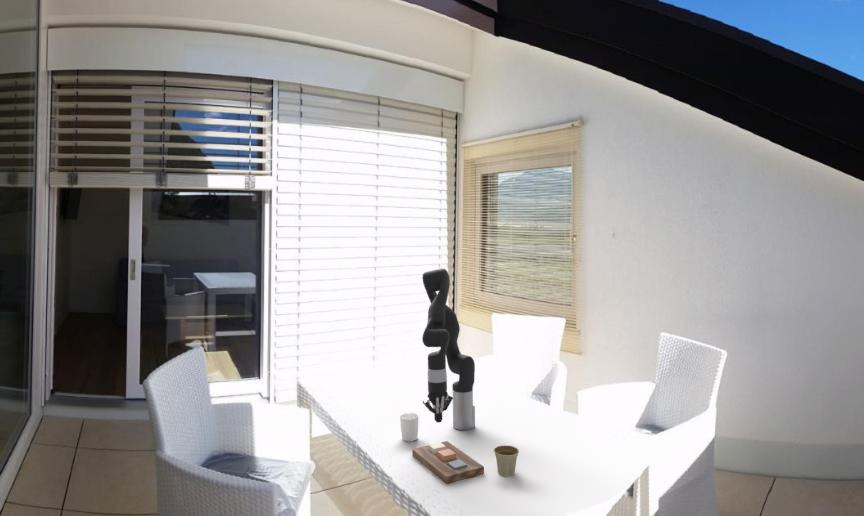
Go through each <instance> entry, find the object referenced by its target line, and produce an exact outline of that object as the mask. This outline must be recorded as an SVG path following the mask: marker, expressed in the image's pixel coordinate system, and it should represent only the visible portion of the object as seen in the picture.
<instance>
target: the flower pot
mask: <svg viewBox="0 0 864 516" xmlns="http://www.w3.org/2000/svg"><path fill="white" fill-rule="evenodd" d="M493 453H494V456H495V459H496V467H497V473H498V474H499V475H500V476H504V477H510V476H514V475H515V474H516V466H517V460H518V459H517V458H518V455H519V453H520V450H519V448H517V447H515V446H513V445H509V444H508V445H507V444H505V445H499V446H495V447H494V448H493Z"/></svg>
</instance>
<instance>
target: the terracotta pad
mask: <svg viewBox="0 0 864 516" xmlns="http://www.w3.org/2000/svg"><path fill="white" fill-rule="evenodd" d="M438 458H439V459H440V460H442V461H443V462H446V461H450V460H454V459H456V453H455V452H453V451H452V450H450V449H446V450H441V451H438Z"/></svg>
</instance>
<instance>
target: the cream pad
mask: <svg viewBox="0 0 864 516" xmlns="http://www.w3.org/2000/svg"><path fill="white" fill-rule="evenodd" d="M441 442H442V441H441ZM441 442H440V441H437V442H433V443H428V444H427V445H428V450H429V451H430V452H431V453H433V454H438V451H441V450H446V446H445V445H443V444H442V443H441Z"/></svg>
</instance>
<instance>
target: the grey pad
mask: <svg viewBox="0 0 864 516" xmlns="http://www.w3.org/2000/svg"><path fill="white" fill-rule="evenodd" d="M448 466H449V467H451V468H452V469H453V470H457V469H461V468H465V467H467V464H465V463H464V462H463V461H461V460H460V459H459V460H455V461H451V462H448Z"/></svg>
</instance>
